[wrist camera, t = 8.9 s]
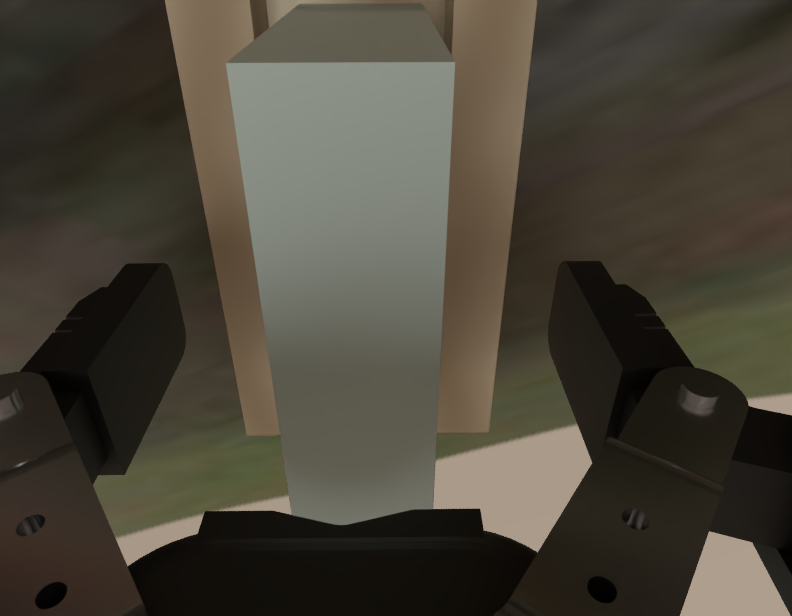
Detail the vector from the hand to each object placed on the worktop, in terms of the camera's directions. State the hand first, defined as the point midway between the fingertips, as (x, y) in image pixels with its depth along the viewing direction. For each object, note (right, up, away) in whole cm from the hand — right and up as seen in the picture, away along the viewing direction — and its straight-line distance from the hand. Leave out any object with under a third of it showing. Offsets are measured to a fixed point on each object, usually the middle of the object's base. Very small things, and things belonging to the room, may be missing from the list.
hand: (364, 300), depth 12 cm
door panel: (0, +3, +5) cm, 6 cm away
